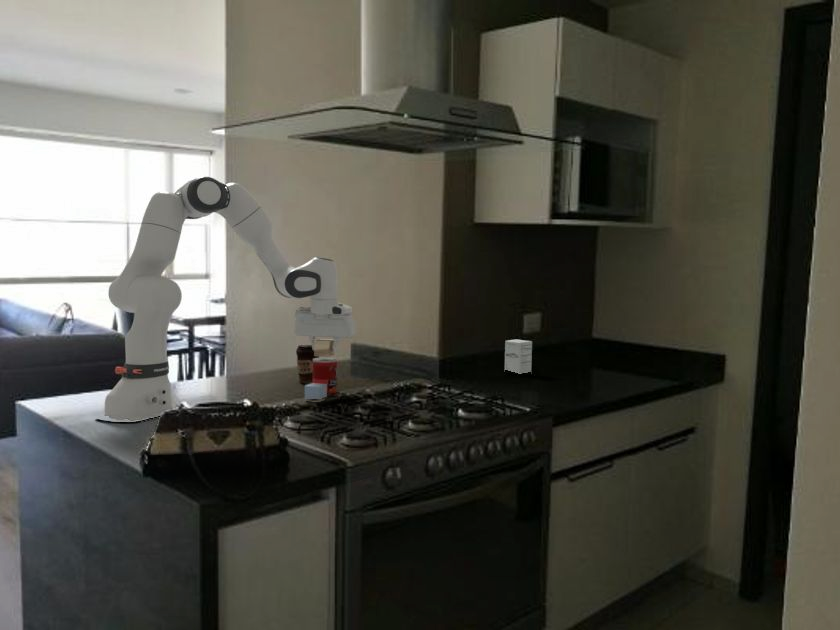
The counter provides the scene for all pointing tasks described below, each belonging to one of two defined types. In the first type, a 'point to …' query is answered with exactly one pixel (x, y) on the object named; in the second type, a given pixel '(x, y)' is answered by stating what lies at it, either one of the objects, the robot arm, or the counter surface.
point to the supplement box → (518, 356)
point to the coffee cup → (305, 363)
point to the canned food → (325, 372)
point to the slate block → (315, 391)
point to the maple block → (323, 347)
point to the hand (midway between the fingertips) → (324, 350)
